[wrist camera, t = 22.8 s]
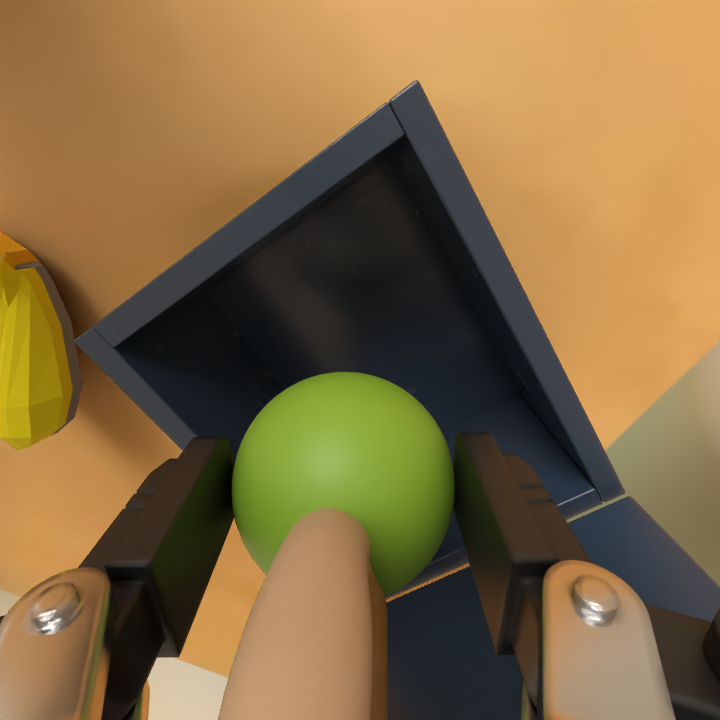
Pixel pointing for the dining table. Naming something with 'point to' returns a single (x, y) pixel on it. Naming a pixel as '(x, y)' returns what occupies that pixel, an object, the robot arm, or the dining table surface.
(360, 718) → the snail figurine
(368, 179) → the compartment
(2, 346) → the gaming controller
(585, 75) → the dining table surface
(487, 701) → the lid
